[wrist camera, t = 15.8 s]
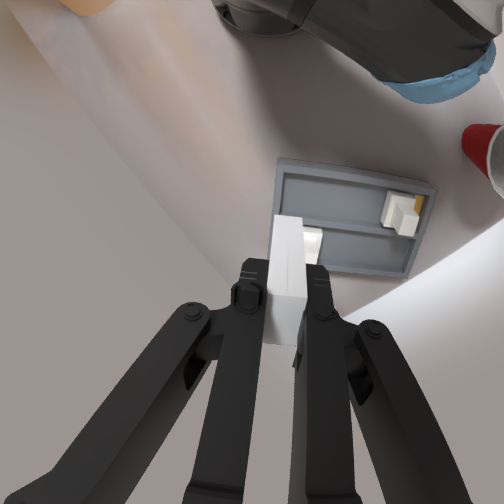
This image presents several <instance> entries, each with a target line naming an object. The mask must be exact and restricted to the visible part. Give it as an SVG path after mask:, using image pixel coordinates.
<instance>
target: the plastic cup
mask: <svg viewBox="0 0 504 504" xmlns="http://www.w3.org/2000/svg"><path fill="white" fill-rule="evenodd" d="M462 147H463V149H464V151H465V153H466V155H467V156H468V157H469V158H470V159H471V160H472V161H473V163H474V164H475V165H476V166H477V167H478V168H479V169H480V170H481V171H482V172H483V173H484V174H485V175H486V176H487V178H488V179H489V180H490V182H491V184H492V186H493V188H494V190H495V191H496V192H497V193H498V194H499V195H500V196H501V197H502V198H503V199H504V124H503V125H492V124H485V125H484V124H474V125H470V126H469V127H467V128H466V129H465V131H464V133H463V136H462Z"/></svg>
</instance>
